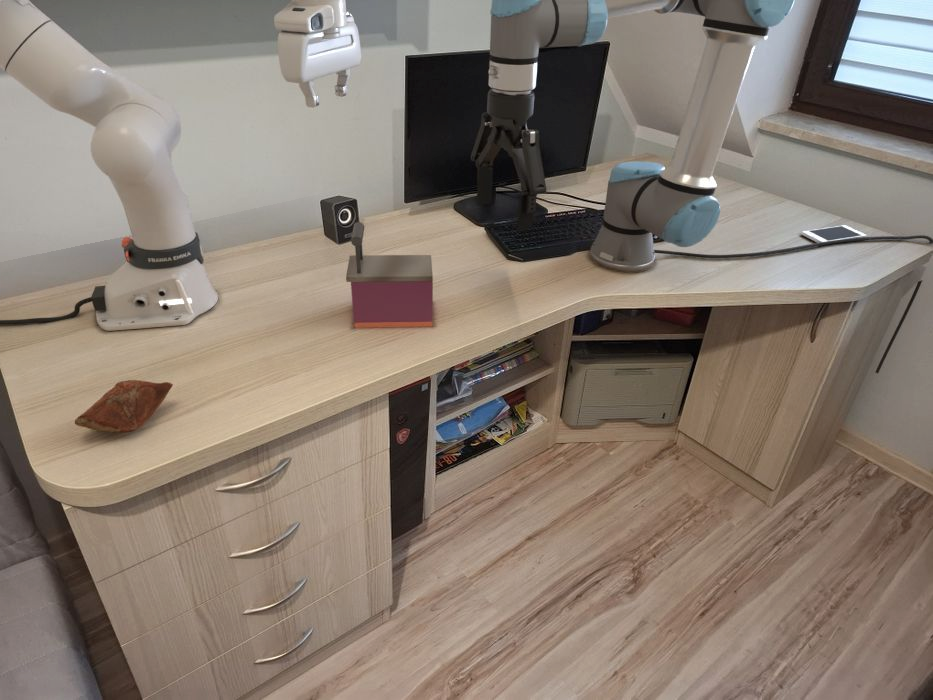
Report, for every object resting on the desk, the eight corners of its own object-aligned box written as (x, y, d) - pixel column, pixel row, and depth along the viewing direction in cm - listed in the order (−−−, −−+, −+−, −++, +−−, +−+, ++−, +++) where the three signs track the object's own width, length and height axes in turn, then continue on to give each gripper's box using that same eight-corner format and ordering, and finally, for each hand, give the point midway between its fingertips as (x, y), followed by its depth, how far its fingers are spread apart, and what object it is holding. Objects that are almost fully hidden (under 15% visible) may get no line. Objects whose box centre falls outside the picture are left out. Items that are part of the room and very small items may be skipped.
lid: (346, 282, 119) (342, 239, 114) (350, 260, 126) (346, 219, 122) (432, 281, 120) (432, 238, 115) (431, 259, 128) (431, 219, 123)
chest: (354, 327, 124) (350, 282, 119) (357, 304, 132) (354, 260, 127) (432, 326, 126) (432, 281, 120) (431, 303, 133) (431, 260, 128)
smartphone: (800, 234, 170) (801, 231, 170) (844, 227, 175) (845, 224, 174) (821, 245, 165) (822, 241, 164) (865, 238, 169) (867, 234, 169)
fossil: (179, 377, 103) (140, 354, 94) (189, 423, 99) (149, 403, 90) (107, 409, 103) (61, 389, 94) (114, 456, 99) (67, 439, 90)
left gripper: (336, 7, 115) (343, 88, 123) (266, 19, 100) (279, 110, 107) (367, 9, 114) (371, 91, 121) (300, 22, 98) (310, 115, 105)
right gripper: (453, 76, 109) (451, 196, 121) (536, 109, 91) (524, 246, 103) (491, 73, 112) (485, 190, 124) (578, 104, 94) (562, 237, 106)
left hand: (327, 100), depth 114 cm, fingers open, 8 cm apart
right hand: (503, 216), depth 114 cm, fingers open, 13 cm apart
